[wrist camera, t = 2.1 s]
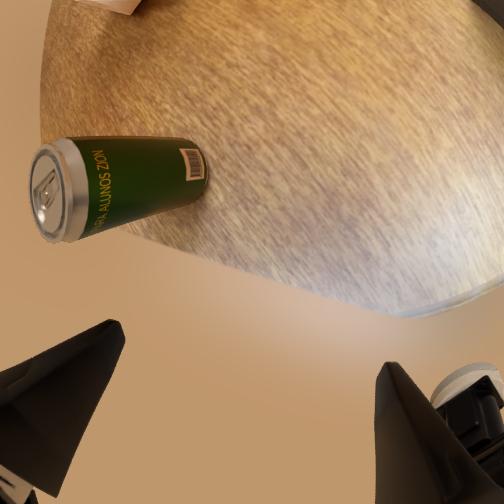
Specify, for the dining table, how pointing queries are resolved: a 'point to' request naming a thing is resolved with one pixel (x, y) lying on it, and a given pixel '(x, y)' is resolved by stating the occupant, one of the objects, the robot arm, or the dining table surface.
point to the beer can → (110, 182)
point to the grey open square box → (493, 9)
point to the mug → (114, 5)
